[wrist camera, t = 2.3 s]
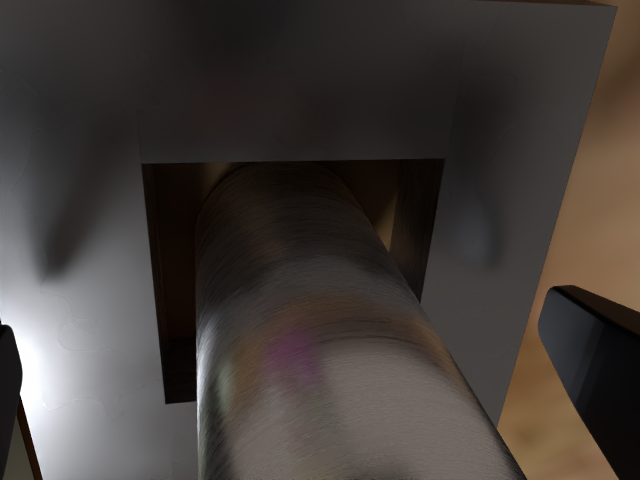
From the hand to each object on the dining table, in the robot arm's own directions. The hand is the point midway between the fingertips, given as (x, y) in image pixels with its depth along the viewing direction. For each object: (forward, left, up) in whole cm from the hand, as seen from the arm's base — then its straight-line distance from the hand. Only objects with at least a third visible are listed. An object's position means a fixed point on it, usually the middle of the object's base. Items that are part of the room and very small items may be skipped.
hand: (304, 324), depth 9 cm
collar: (0, 0, -3) cm, 3 cm away
